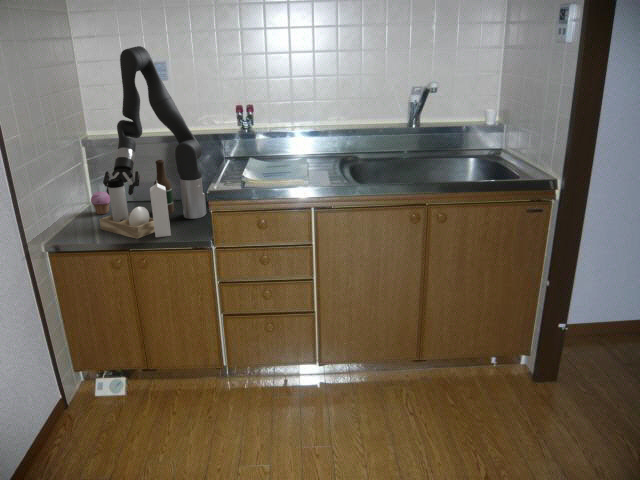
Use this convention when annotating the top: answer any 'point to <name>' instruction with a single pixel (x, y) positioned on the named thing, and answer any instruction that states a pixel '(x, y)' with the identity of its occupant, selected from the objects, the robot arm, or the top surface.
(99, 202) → the cupcake
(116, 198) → the travel mug
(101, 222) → the wooden compartment box
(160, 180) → the beer bottle
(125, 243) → the top surface
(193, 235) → the top surface
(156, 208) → the milk
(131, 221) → the saucer
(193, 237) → the top surface
